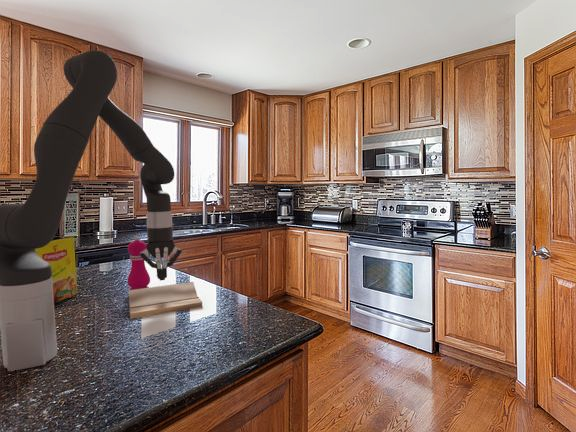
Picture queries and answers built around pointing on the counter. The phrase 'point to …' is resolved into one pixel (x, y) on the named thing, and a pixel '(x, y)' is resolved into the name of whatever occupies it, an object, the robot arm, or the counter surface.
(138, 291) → the ash plank
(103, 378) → the counter surface
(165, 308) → the oak plank
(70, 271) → the food package
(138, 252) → the pepper mill
